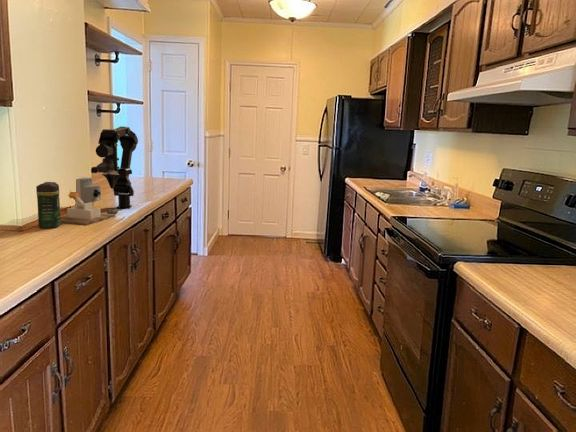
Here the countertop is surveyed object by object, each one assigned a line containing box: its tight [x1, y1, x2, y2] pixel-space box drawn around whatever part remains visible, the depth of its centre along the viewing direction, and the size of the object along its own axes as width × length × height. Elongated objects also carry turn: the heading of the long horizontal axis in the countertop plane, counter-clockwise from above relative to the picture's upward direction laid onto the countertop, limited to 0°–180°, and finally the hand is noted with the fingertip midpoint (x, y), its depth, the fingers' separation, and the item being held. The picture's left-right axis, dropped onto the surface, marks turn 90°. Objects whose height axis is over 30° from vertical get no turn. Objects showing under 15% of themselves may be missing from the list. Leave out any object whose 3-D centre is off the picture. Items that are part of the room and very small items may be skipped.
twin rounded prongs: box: [106, 208, 119, 215], centre depth 217 cm, size 7×12×2 cm, turn 77°
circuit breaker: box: [76, 176, 102, 207], centre depth 229 cm, size 8×14×15 cm, turn 78°
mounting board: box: [61, 212, 116, 226], centre depth 204 cm, size 20×18×1 cm
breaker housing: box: [66, 202, 102, 219], centre depth 203 cm, size 7×12×6 cm, turn 77°
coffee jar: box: [35, 181, 62, 229], centre depth 186 cm, size 10×8×19 cm
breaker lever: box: [68, 191, 85, 208], centre depth 199 cm, size 2×3×10 cm
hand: (112, 188), depth 217 cm, fingers closed
